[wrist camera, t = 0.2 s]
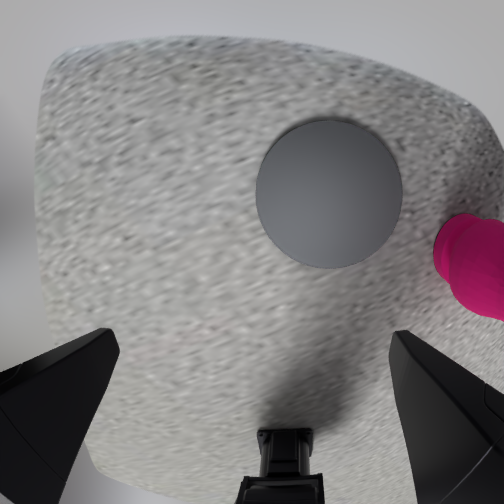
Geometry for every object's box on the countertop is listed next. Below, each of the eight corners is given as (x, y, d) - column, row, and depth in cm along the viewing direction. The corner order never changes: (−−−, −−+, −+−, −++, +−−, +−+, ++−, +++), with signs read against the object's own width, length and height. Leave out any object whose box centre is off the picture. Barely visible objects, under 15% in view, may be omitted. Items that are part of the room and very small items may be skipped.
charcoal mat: (397, 259, 22) (400, 262, 22) (264, 270, 24) (263, 273, 23) (394, 120, 19) (397, 120, 18) (247, 127, 20) (247, 127, 19)
